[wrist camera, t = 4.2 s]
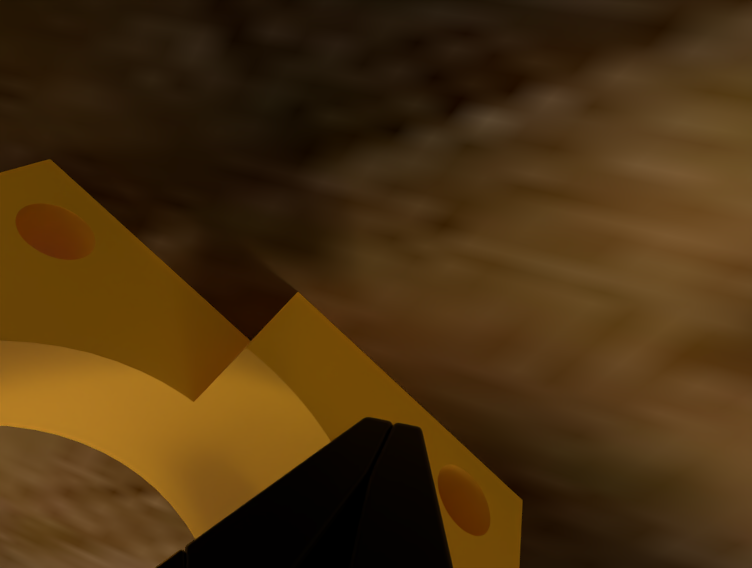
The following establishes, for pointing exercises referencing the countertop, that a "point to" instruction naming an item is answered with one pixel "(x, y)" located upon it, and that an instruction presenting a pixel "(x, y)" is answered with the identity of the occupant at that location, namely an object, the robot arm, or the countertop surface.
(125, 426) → the pipe clamp
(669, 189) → the countertop surface
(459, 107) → the countertop surface
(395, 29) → the countertop surface
